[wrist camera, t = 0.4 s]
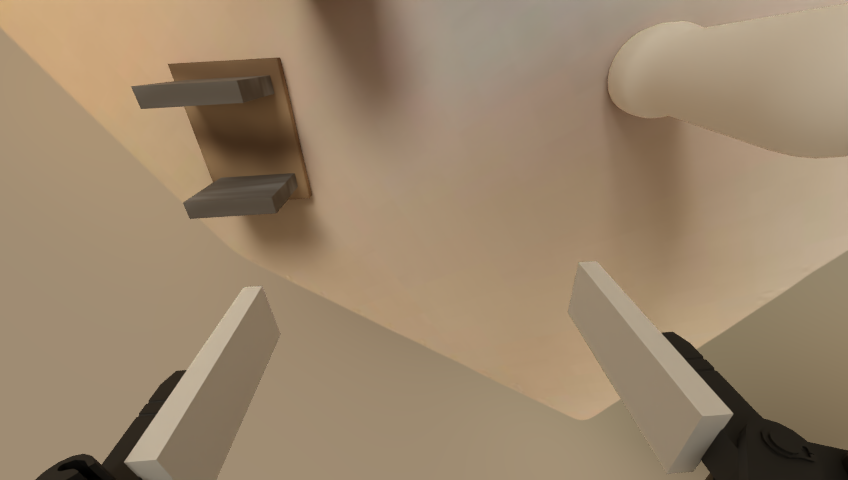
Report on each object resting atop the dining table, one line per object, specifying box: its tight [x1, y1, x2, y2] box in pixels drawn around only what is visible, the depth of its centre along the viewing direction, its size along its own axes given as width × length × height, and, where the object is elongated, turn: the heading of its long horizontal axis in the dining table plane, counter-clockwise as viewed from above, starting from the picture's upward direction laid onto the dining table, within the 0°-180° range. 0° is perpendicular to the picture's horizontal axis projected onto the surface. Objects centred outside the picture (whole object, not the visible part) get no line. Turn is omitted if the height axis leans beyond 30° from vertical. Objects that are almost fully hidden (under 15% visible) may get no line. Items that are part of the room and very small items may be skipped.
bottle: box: [608, 3, 848, 158], centre depth 20 cm, size 8×8×30 cm
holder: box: [131, 58, 312, 219], centre depth 31 cm, size 14×10×8 cm
